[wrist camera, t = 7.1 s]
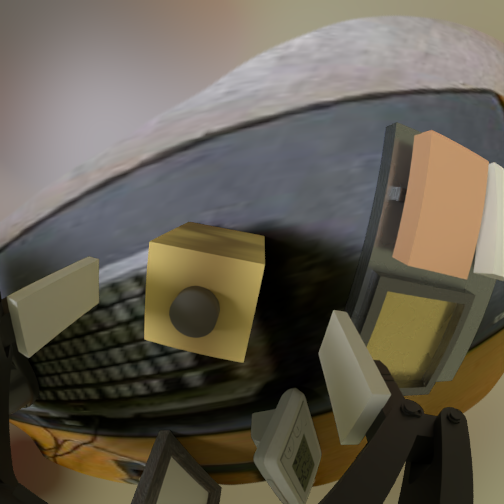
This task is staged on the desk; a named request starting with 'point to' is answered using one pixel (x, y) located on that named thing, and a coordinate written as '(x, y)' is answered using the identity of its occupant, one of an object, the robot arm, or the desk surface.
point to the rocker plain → (492, 227)
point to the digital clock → (287, 447)
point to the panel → (410, 290)
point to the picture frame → (174, 476)
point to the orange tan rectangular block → (442, 206)
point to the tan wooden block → (203, 289)
